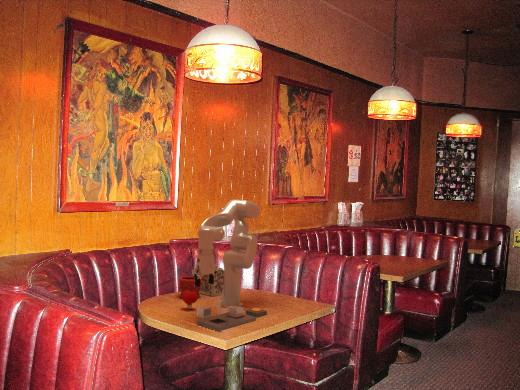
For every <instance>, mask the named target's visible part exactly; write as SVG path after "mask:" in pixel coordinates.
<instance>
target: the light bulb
mask: <svg viewBox="0 0 520 390" xmlns="http://www.w3.org/2000/svg"><path fill="white" fill-rule="evenodd" d="M181 298H182V299H181V300H182V301H183V302H184V303H185V304H186V308H187V309H188V310H191V309H192V308H193V304H194V303H196V302H197V301H198V298H199V297H198V296H197V293H196V292H194V291H193V292H190V291H184V292H183V294H182V297H181Z"/></svg>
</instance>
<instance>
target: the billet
mask: <svg viewBox="0 0 520 390" xmlns="http://www.w3.org/2000/svg"><path fill="white" fill-rule="evenodd" d="M211 311H212V307H209V306H206V305H201V306H197V307H196V317H197V318H199V319H204V318H208V317H212V314H211Z"/></svg>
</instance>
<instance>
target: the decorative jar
mask: <svg viewBox="0 0 520 390" xmlns="http://www.w3.org/2000/svg"><path fill="white" fill-rule="evenodd" d="M215 266H216V267H218V265H217V264H215ZM209 276H210V274H208V275H201V276H200V278H201V288H200V291H199V294H200V295H205V296H209V297H217V296H223V295H224V268H223V267H218V269H217V272H216V274H215V276H214V284H209Z"/></svg>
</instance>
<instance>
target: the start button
mask: <svg viewBox="0 0 520 390" xmlns="http://www.w3.org/2000/svg"><path fill="white" fill-rule="evenodd" d="M262 310H263V309H262V308H258V307H254V308H250V311H253V312H260V311H262Z"/></svg>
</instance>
